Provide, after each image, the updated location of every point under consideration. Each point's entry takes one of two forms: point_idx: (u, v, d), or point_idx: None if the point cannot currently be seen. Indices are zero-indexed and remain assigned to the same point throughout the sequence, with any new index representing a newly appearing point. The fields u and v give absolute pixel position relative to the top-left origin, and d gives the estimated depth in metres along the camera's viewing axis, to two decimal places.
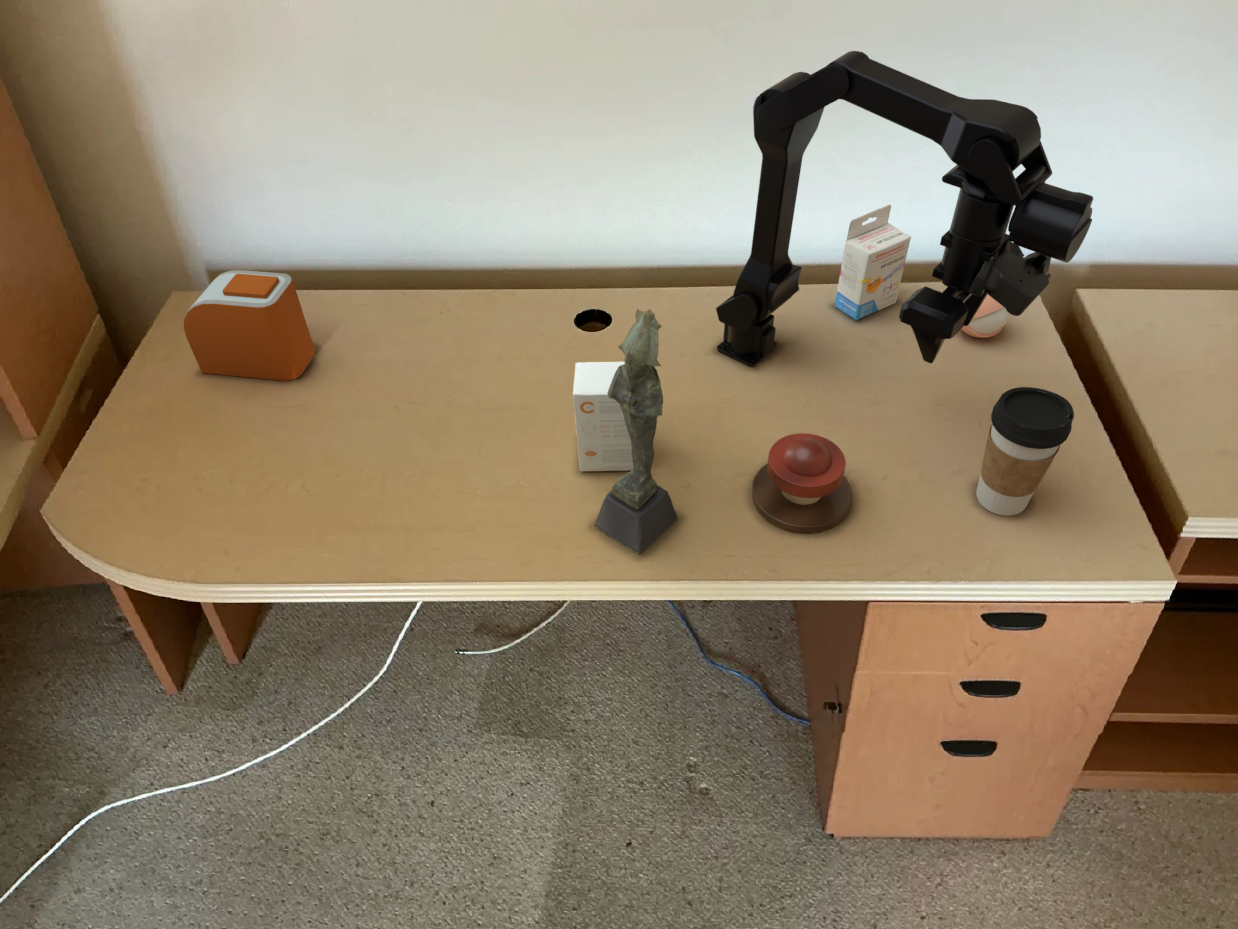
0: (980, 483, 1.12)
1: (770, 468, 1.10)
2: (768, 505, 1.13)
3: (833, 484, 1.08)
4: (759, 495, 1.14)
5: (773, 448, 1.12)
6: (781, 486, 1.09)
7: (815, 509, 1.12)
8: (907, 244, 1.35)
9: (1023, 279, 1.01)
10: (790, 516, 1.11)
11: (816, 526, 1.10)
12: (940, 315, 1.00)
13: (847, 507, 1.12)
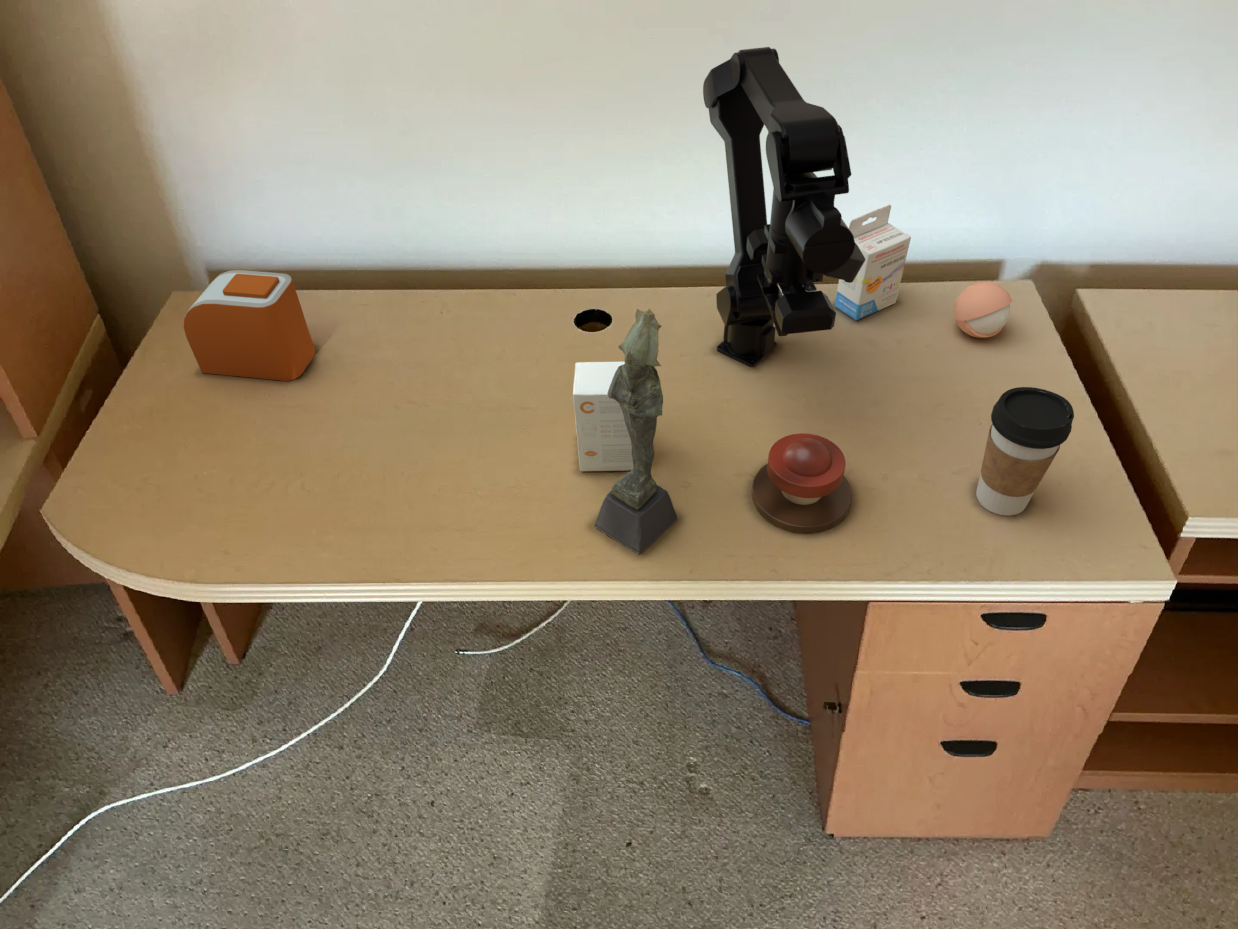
0: (980, 483, 1.12)
1: (770, 468, 1.10)
2: (768, 505, 1.13)
3: (833, 484, 1.08)
4: (759, 495, 1.14)
5: (773, 448, 1.12)
6: (781, 486, 1.09)
7: (815, 509, 1.12)
8: (907, 244, 1.35)
9: None
10: (790, 516, 1.11)
11: (816, 526, 1.10)
12: (823, 311, 1.05)
13: (847, 507, 1.12)
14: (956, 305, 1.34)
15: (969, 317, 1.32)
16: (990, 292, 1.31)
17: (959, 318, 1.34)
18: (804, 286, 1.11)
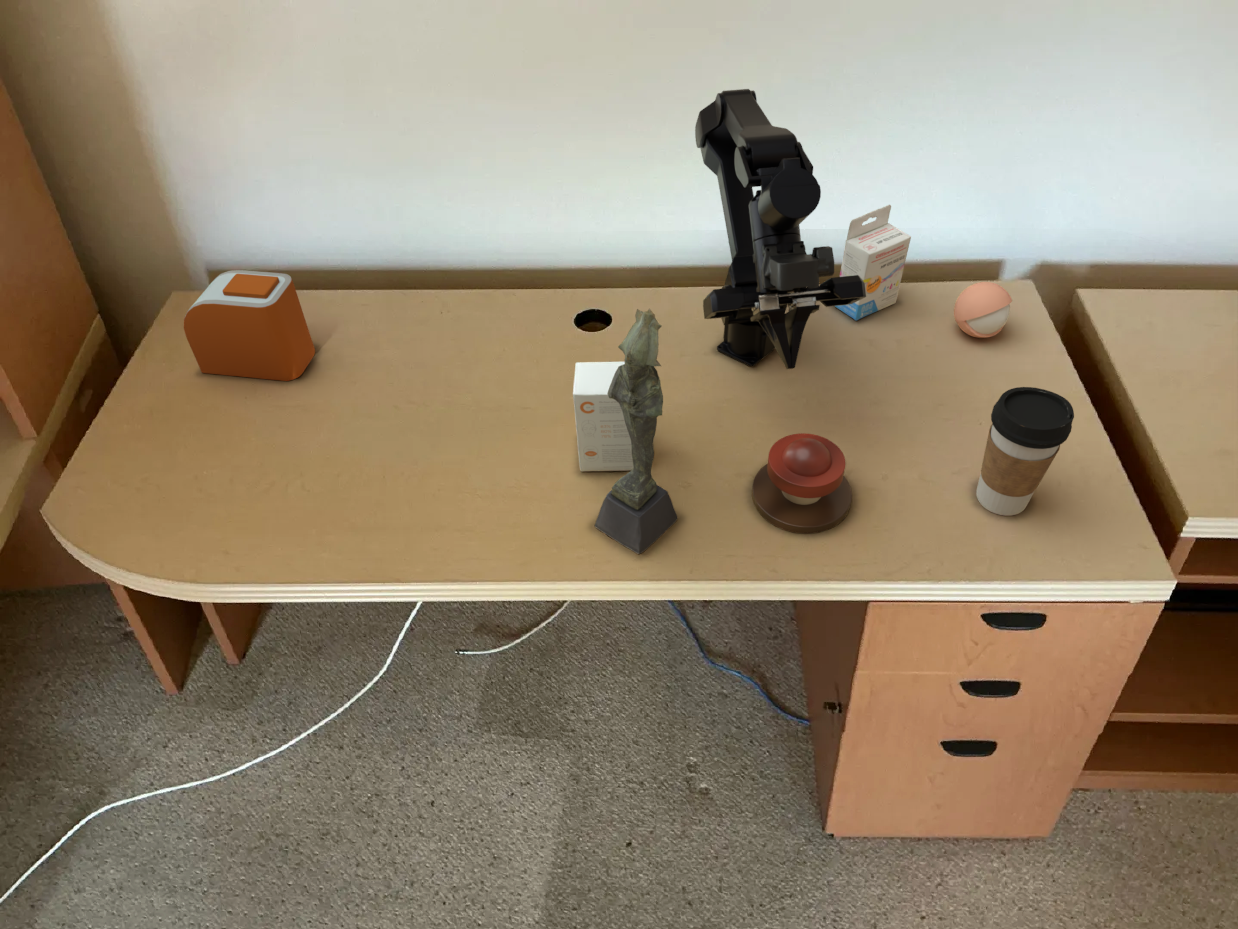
0: (980, 483, 1.12)
1: (770, 468, 1.10)
2: (768, 505, 1.13)
3: (833, 484, 1.08)
4: (759, 495, 1.14)
5: (773, 448, 1.12)
6: (781, 486, 1.09)
7: (815, 509, 1.12)
8: (907, 244, 1.35)
9: (789, 259, 1.07)
10: (790, 516, 1.11)
11: (816, 526, 1.10)
12: None
13: (847, 507, 1.12)
14: (956, 305, 1.34)
15: (969, 317, 1.32)
16: (990, 292, 1.31)
17: (959, 318, 1.34)
18: None
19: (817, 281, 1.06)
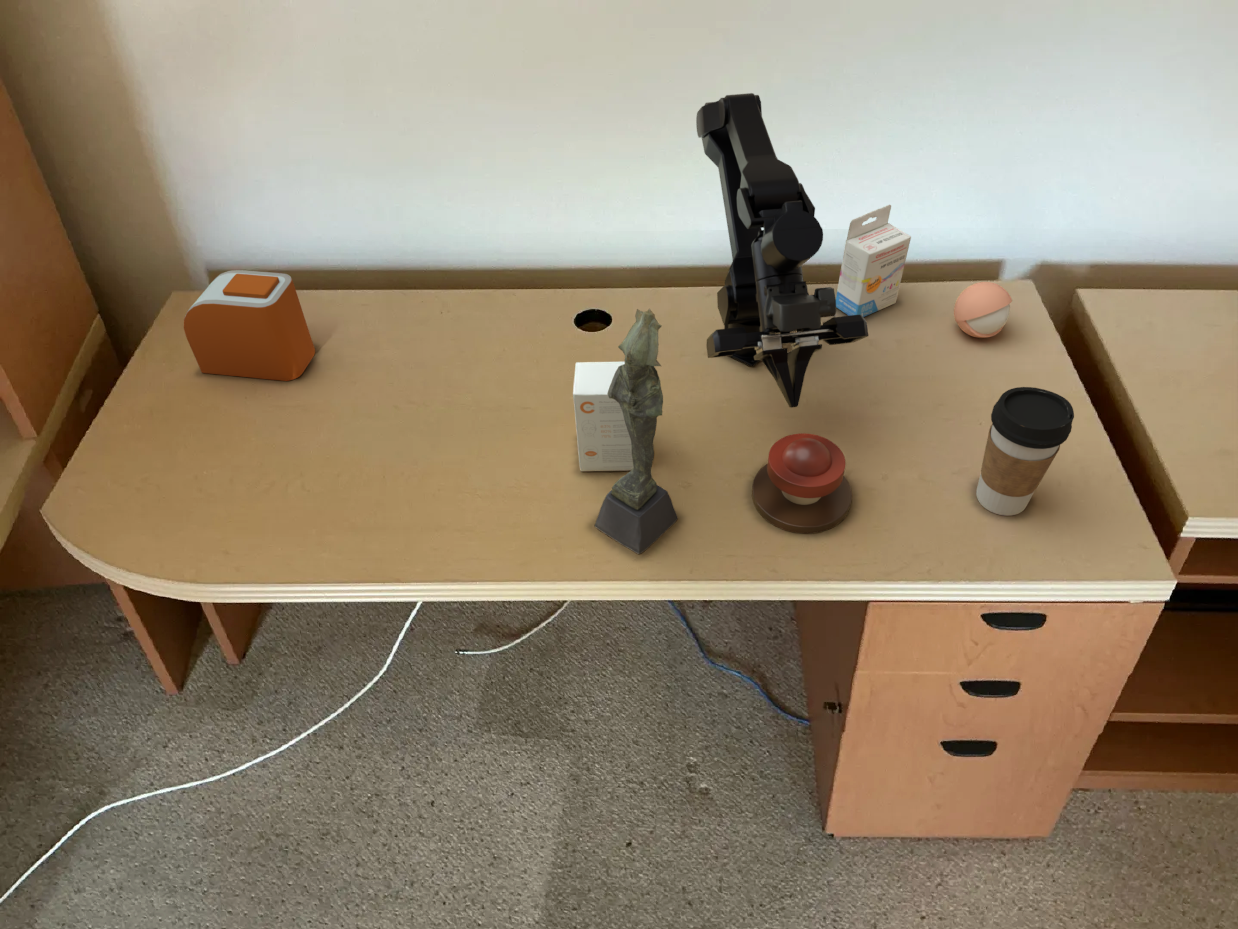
0: (980, 483, 1.12)
1: (770, 468, 1.10)
2: (768, 505, 1.13)
3: (833, 484, 1.08)
4: (759, 495, 1.14)
5: (773, 448, 1.12)
6: (781, 486, 1.09)
7: (815, 509, 1.12)
8: (907, 244, 1.35)
9: (791, 300, 1.08)
10: (790, 516, 1.11)
11: (816, 526, 1.10)
12: None
13: (847, 507, 1.12)
14: (956, 305, 1.34)
15: (969, 317, 1.32)
16: (990, 292, 1.31)
17: (959, 318, 1.34)
18: None
19: (819, 322, 1.07)
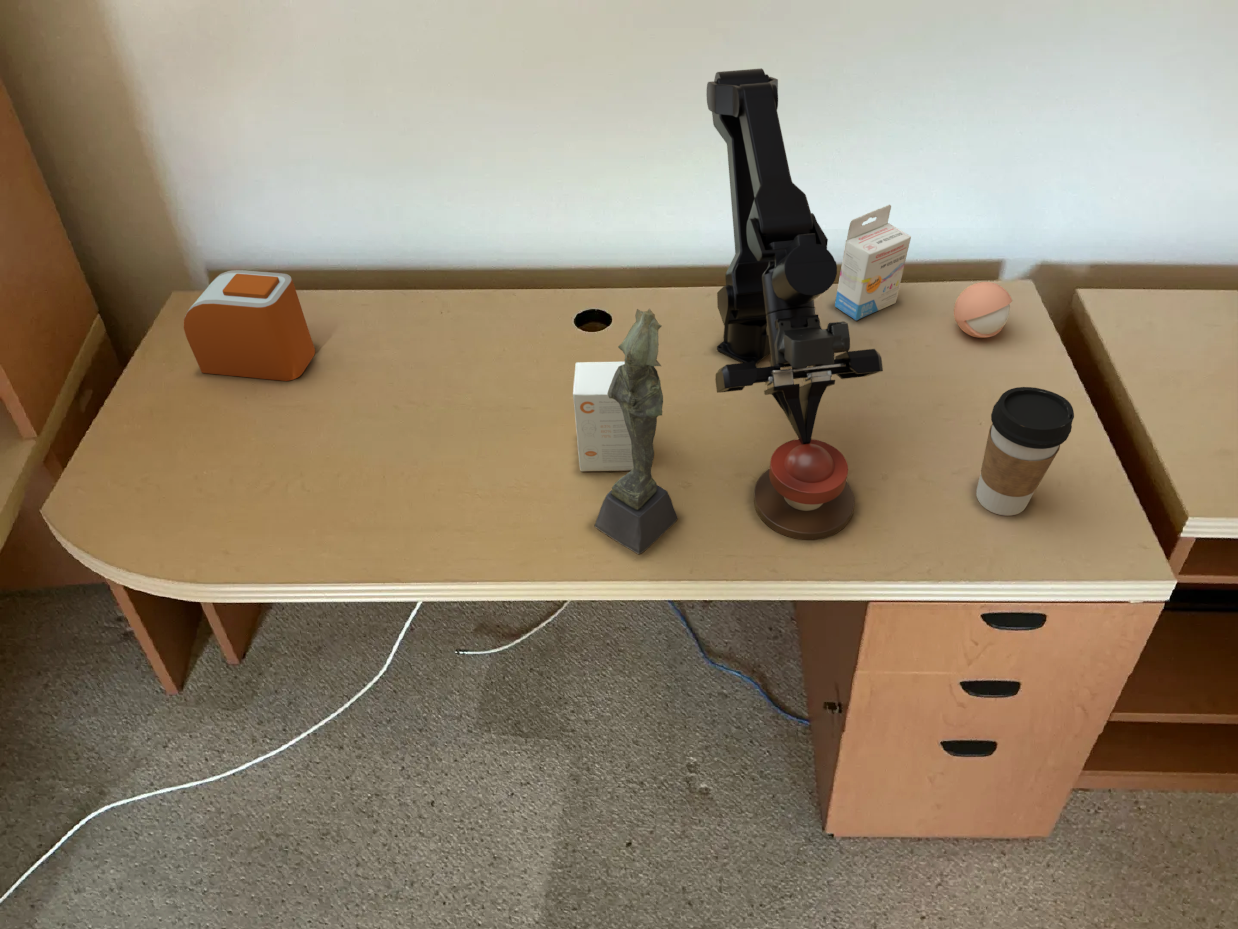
0: (980, 483, 1.12)
1: (772, 474, 1.10)
2: (770, 511, 1.12)
3: (836, 490, 1.08)
4: (761, 501, 1.13)
5: (775, 454, 1.11)
6: (783, 492, 1.09)
7: (817, 515, 1.11)
8: (907, 244, 1.35)
9: (804, 335, 1.04)
10: (792, 522, 1.11)
11: (818, 532, 1.10)
12: (723, 367, 1.08)
13: (849, 513, 1.11)
14: (956, 305, 1.34)
15: (969, 317, 1.32)
16: (990, 292, 1.31)
17: (959, 318, 1.34)
18: None
19: (832, 358, 1.03)
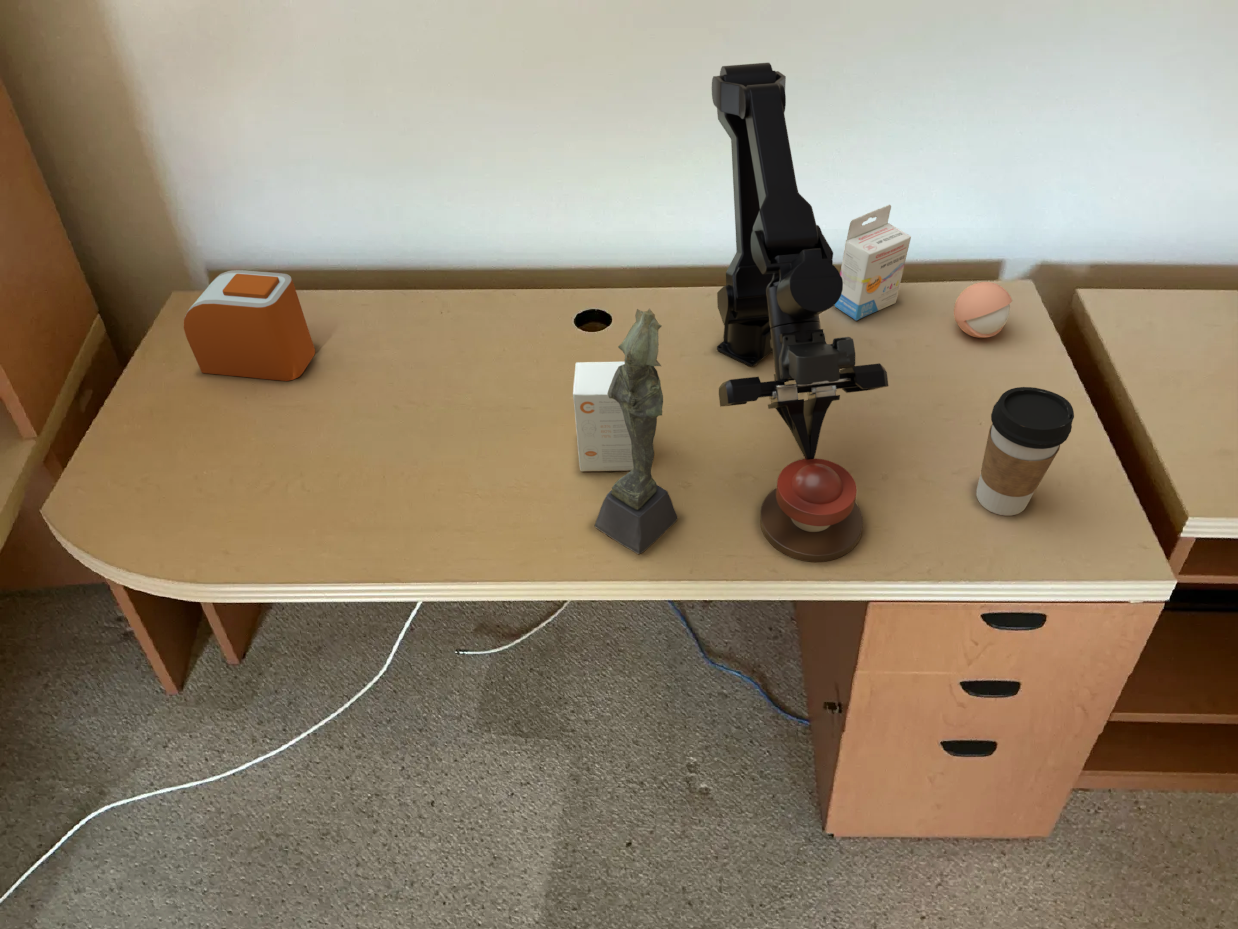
0: (980, 483, 1.12)
1: (779, 495, 1.07)
2: (777, 532, 1.10)
3: (844, 512, 1.05)
4: (767, 522, 1.11)
5: (782, 474, 1.09)
6: (790, 514, 1.06)
7: (825, 536, 1.09)
8: (907, 244, 1.35)
9: (808, 351, 1.03)
10: (800, 544, 1.08)
11: (826, 554, 1.07)
12: (726, 382, 1.07)
13: (858, 534, 1.09)
14: (956, 305, 1.34)
15: (969, 317, 1.32)
16: (990, 292, 1.31)
17: (959, 318, 1.34)
18: None
19: (837, 374, 1.02)
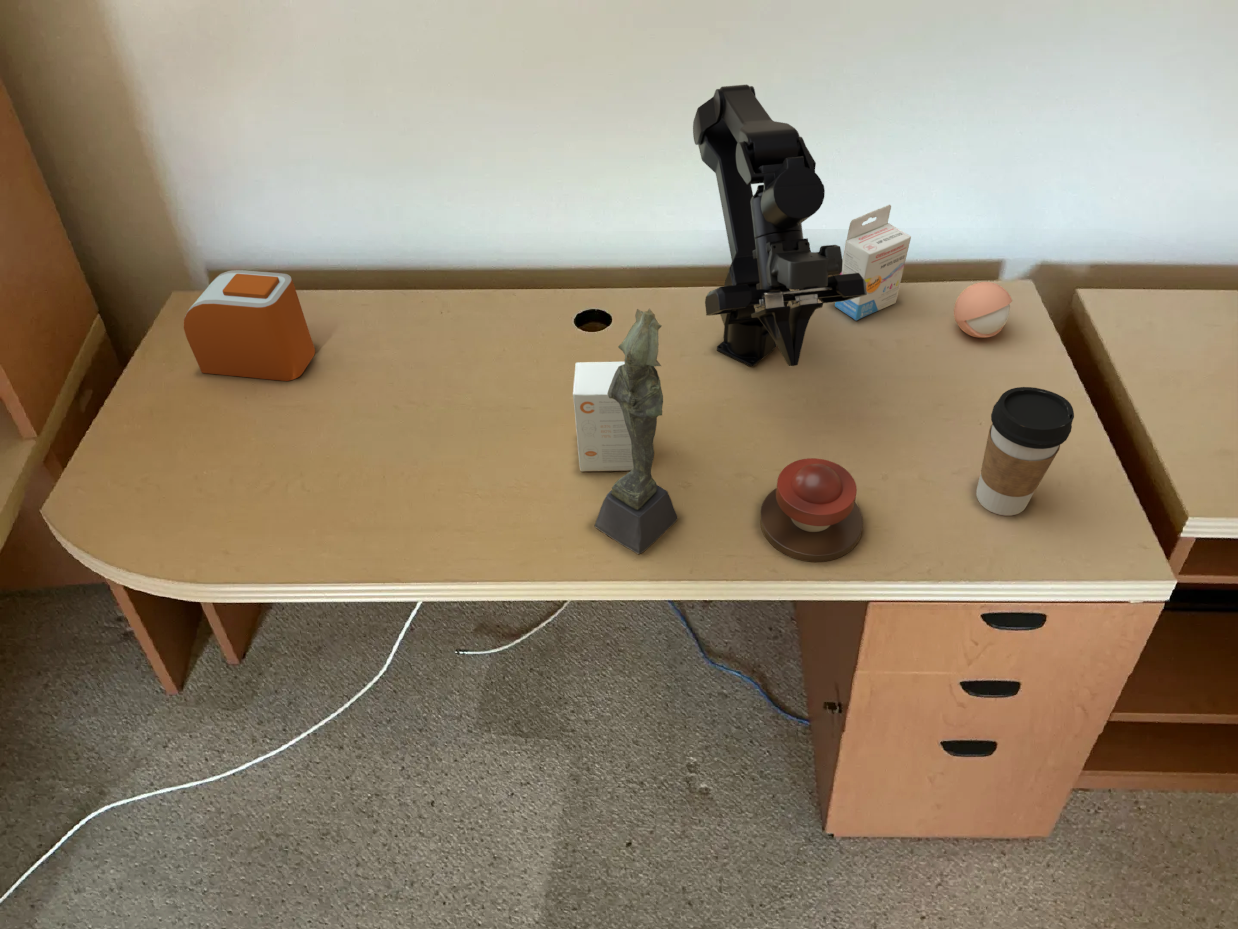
0: (980, 483, 1.12)
1: (779, 495, 1.07)
2: (777, 532, 1.10)
3: (844, 512, 1.05)
4: (767, 522, 1.11)
5: (782, 474, 1.09)
6: (790, 514, 1.06)
7: (825, 536, 1.09)
8: (907, 244, 1.35)
9: (798, 257, 1.06)
10: (800, 544, 1.08)
11: (826, 554, 1.07)
12: (716, 289, 1.10)
13: (858, 534, 1.09)
14: (956, 305, 1.34)
15: (969, 317, 1.32)
16: (990, 292, 1.31)
17: (959, 318, 1.34)
18: None
19: (826, 280, 1.06)
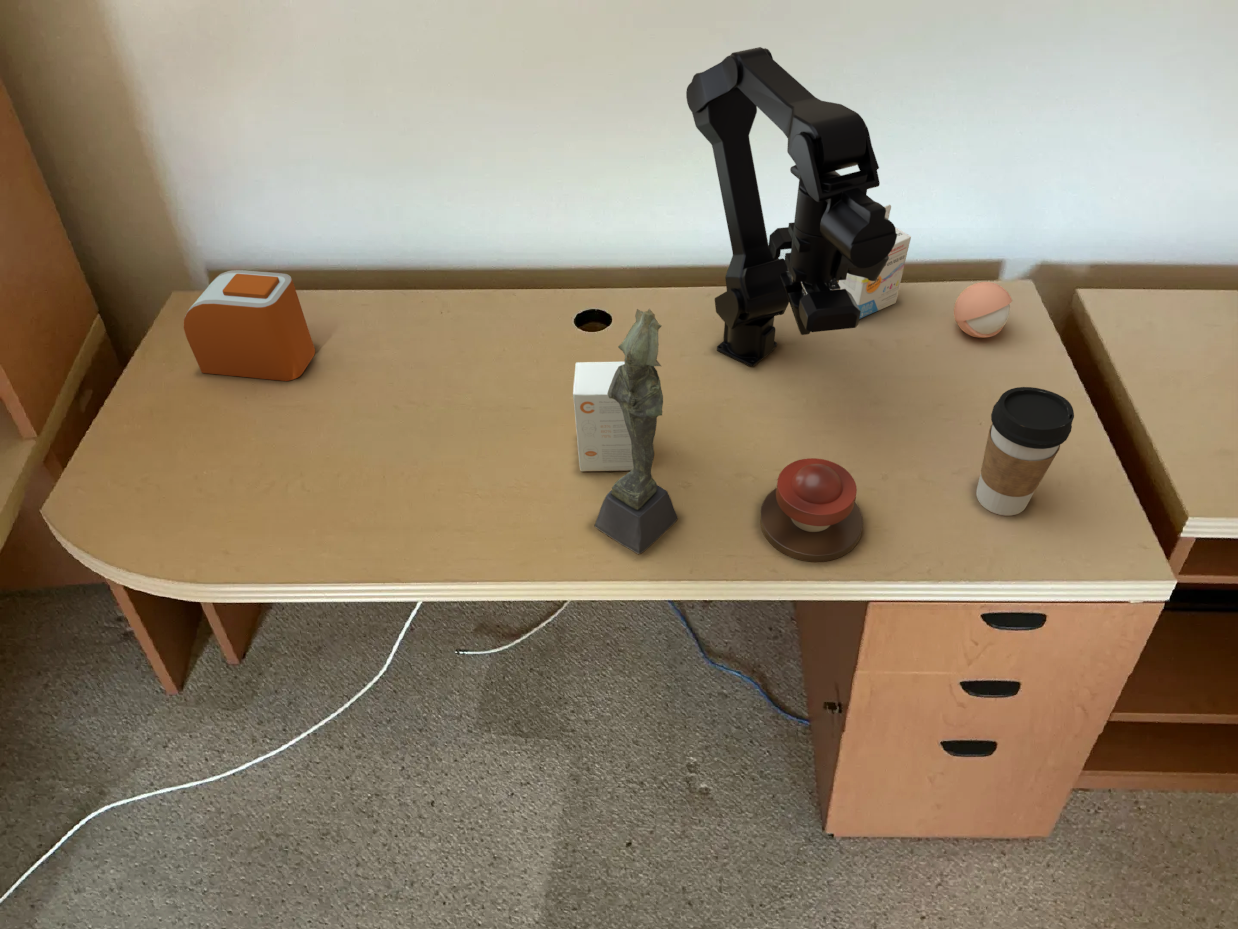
0: (980, 483, 1.12)
1: (779, 495, 1.07)
2: (777, 532, 1.10)
3: (844, 512, 1.05)
4: (767, 522, 1.11)
5: (782, 474, 1.09)
6: (790, 514, 1.06)
7: (825, 536, 1.09)
8: (907, 244, 1.35)
9: None
10: (800, 544, 1.08)
11: (826, 554, 1.07)
12: (848, 309, 1.06)
13: (858, 534, 1.09)
14: (956, 305, 1.34)
15: (969, 317, 1.32)
16: (990, 292, 1.31)
17: (959, 318, 1.34)
18: (828, 284, 1.11)
19: None
